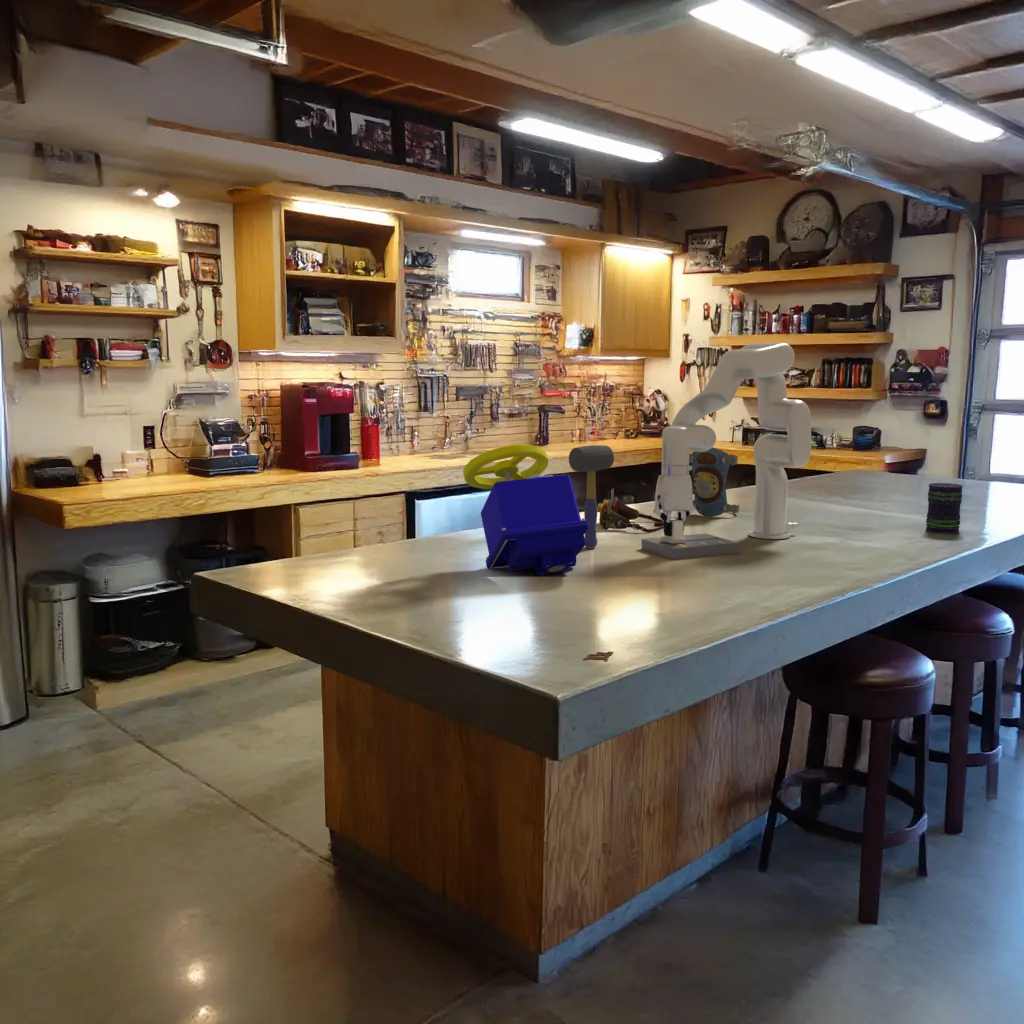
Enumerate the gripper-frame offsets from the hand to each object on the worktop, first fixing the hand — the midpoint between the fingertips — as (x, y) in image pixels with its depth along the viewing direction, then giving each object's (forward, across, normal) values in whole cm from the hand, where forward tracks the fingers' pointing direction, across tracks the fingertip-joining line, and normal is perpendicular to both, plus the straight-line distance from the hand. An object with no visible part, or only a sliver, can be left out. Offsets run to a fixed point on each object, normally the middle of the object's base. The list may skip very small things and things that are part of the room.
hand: (673, 534), depth 253 cm
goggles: (+6, -10, -42) cm, 43 cm away
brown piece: (+6, +57, +69) cm, 89 cm away
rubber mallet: (+5, +19, -15) cm, 24 cm away
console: (+5, -5, 0) cm, 8 cm away
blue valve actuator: (+5, +49, +5) cm, 49 cm away
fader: (+2, 0, 0) cm, 2 cm away
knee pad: (+6, -49, -52) cm, 72 cm away
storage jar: (+6, -97, +5) cm, 98 cm away
